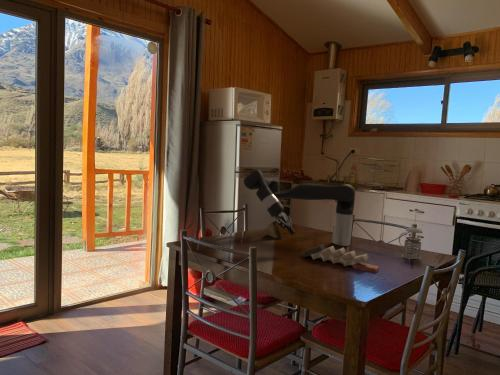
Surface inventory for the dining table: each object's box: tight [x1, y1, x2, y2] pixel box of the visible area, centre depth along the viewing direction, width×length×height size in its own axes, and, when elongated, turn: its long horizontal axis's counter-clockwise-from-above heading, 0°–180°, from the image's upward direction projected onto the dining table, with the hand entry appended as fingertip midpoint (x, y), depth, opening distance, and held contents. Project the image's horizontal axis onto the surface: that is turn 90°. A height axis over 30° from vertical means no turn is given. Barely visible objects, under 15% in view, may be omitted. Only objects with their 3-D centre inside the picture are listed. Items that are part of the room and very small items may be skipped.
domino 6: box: [352, 262, 380, 274], centre depth 176 cm, size 2×5×10 cm
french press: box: [398, 208, 423, 260], centre depth 201 cm, size 10×12×25 cm
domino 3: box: [320, 246, 347, 263], centre depth 183 cm, size 2×5×10 cm
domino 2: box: [310, 245, 336, 261], centre depth 185 cm, size 2×5×10 cm
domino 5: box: [342, 253, 369, 267], centre depth 177 cm, size 2×5×10 cm
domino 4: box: [330, 250, 357, 265], centre depth 181 cm, size 2×5×10 cm
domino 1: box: [301, 244, 326, 258], centre depth 188 cm, size 2×5×10 cm
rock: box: [266, 220, 284, 240], centre depth 228 cm, size 11×9×10 cm
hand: (293, 234), depth 192 cm, fingers closed
